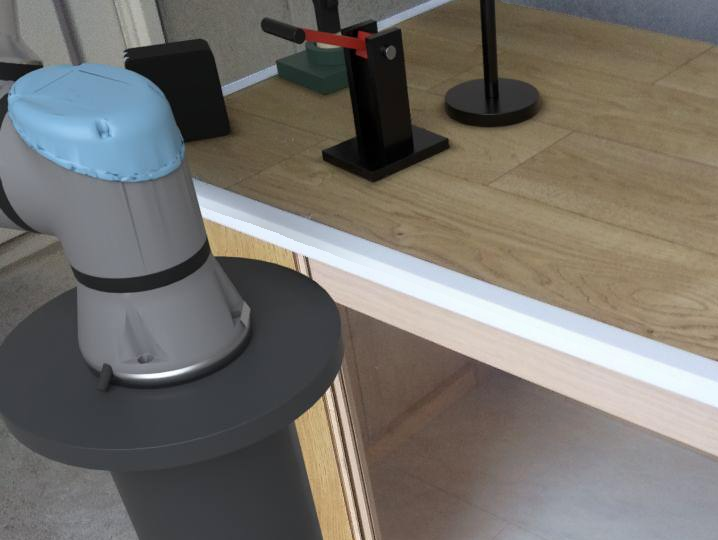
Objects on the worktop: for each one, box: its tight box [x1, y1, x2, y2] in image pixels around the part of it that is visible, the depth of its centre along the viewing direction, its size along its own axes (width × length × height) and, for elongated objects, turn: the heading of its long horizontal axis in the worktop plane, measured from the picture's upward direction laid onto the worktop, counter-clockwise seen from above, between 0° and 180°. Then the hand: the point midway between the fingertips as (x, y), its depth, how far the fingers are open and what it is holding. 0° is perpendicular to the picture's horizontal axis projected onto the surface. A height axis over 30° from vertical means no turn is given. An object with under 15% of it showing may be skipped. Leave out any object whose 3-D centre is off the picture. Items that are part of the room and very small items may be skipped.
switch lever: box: [260, 16, 373, 58], centre depth 104 cm, size 14×6×2 cm, turn 138°
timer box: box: [275, 41, 349, 96], centre depth 134 cm, size 12×10×4 cm
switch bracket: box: [321, 18, 450, 183], centre depth 112 cm, size 12×9×14 cm
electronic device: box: [121, 38, 232, 143], centre depth 118 cm, size 4×10×10 cm, turn 112°
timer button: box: [316, 31, 341, 48], centre depth 132 cm, size 4×4×2 cm
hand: (329, 32), depth 132 cm, fingers closed
